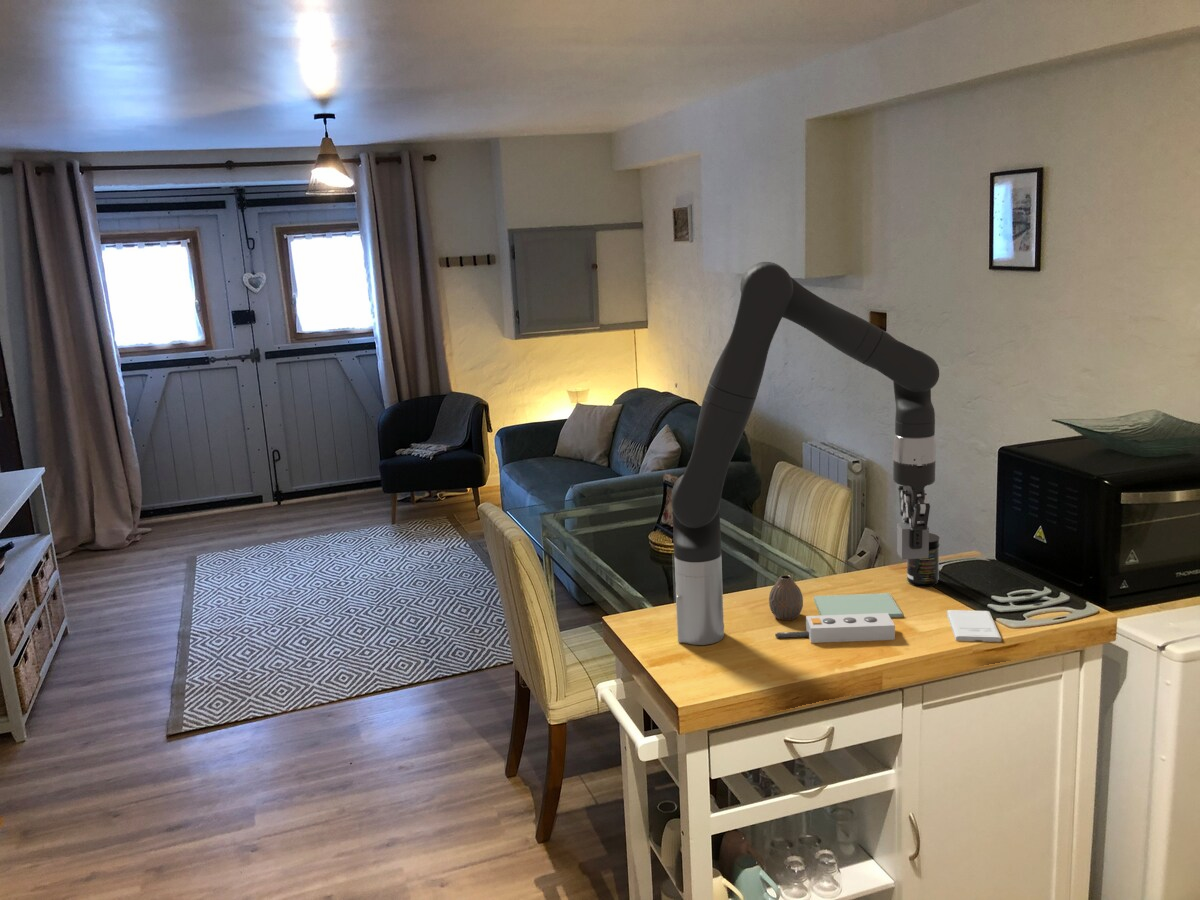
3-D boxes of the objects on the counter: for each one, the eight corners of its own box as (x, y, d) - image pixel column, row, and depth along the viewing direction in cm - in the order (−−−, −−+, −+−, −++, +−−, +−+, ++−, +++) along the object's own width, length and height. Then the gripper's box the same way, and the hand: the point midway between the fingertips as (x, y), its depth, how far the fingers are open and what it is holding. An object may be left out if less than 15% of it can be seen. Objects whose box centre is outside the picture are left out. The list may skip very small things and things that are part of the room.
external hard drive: (989, 618, 199) (1001, 644, 187) (946, 617, 200) (955, 643, 189) (989, 610, 198) (1001, 636, 187) (946, 609, 200) (955, 635, 188)
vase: (800, 624, 200) (800, 584, 198) (766, 622, 202) (765, 581, 200) (805, 611, 206) (804, 571, 204) (772, 609, 208) (771, 569, 206)
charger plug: (901, 559, 188) (902, 528, 186) (897, 552, 191) (897, 522, 190) (928, 558, 188) (929, 527, 186) (923, 551, 191) (923, 521, 190)
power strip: (777, 644, 192) (776, 628, 191) (773, 631, 198) (773, 615, 197) (894, 639, 190) (895, 623, 190) (887, 627, 196) (887, 611, 195)
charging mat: (822, 620, 201) (822, 616, 201) (813, 599, 212) (813, 596, 212) (902, 617, 200) (902, 613, 200) (889, 596, 211) (889, 593, 211)
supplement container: (945, 584, 216) (946, 538, 213) (920, 590, 214) (920, 544, 211) (925, 574, 222) (925, 530, 220) (900, 580, 220) (900, 535, 217)
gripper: (885, 449, 192) (884, 534, 196) (903, 468, 178) (902, 558, 182) (924, 447, 192) (922, 532, 196) (945, 466, 178) (943, 556, 182)
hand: (912, 544), depth 189 cm, fingers closed on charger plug, 3 cm apart
